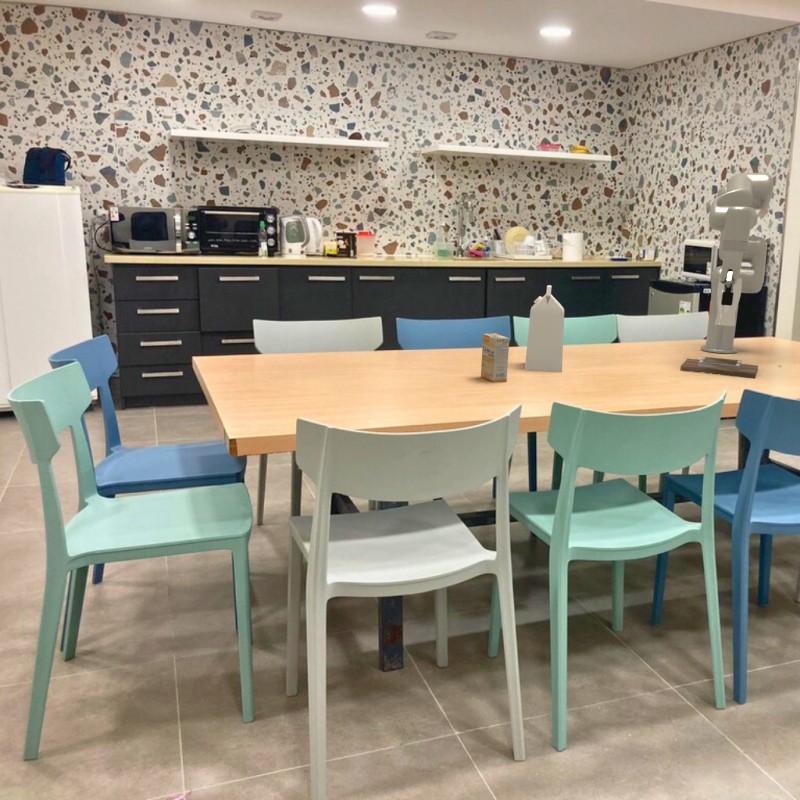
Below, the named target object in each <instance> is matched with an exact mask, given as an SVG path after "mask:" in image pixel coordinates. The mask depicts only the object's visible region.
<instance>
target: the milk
mask: <svg viewBox="0 0 800 800" xmlns="http://www.w3.org/2000/svg"><path fill="white" fill-rule="evenodd" d="M533 303H534V304H533V305H532V306H531V308H530V311H529V312H530V313H529V322H528V334H527V341H526V342H527V343H526V352H525V354H526V355H525V365H524V370H525V371H539V372H551V373H552V372H554V373H563V356H564V355H563V354H564V353H563V351H564V330H565V329H564V328H565V327H564V326H565V308H564V307H563V306H562V304H561V303H560V302H559V301H558V300H557V299H556V298H555V297H554V296H553V295H552V285H550V284H549V285H547V286H546V293H545V294H544V295H543V296H540V295H539V296H538V297H537V298H536V299H535V300H534V301H533Z"/></svg>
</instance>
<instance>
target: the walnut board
mask: <svg viewBox="0 0 800 800" xmlns="http://www.w3.org/2000/svg"><path fill="white" fill-rule="evenodd" d="M742 362H743V361H742V360H741V359H731V358H721V357H712V356H711V357H709V356H702V357H701V358H700V359H698V358H697V359H695V358H686V359H685V360H684V361H683V362H682V364H681V365H680V368H679V369H680V371H681V370H683V371H682V372H690V371H693V372H692V373H700V372H705V373H704V374H709V373H712V374H711V375H718V374H720V375H721V376H728V375H729V377H737V376H738V377H739V378H748V379H755V378H756V376H757V372H758V370H759V365H756V364H746V363H745V364H743V363H742ZM738 377H737V378H738Z"/></svg>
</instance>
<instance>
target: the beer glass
mask: <svg viewBox="0 0 800 800" xmlns="http://www.w3.org/2000/svg"><path fill="white" fill-rule="evenodd" d="M720 278H721V277H720ZM726 281H727V279H726ZM731 282H733V280H731ZM724 283H725V280H724V281H722V283H720V279H719V284H718V290H717V306H718V313H717V318H716V321H715V324H716V325H722V326H735V313H736V309H737V306H738V307H739V302H740V300H741V299H740V298H741V294H742V293H741V288H742V278H738V280H737V283H736V284H734V288H733V293H734V294H733V302H732V305H731V306H729V305H721V301H722V293H723V290H724ZM731 288H732V287H731Z"/></svg>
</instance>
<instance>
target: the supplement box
mask: <svg viewBox="0 0 800 800" xmlns="http://www.w3.org/2000/svg"><path fill="white" fill-rule="evenodd" d="M509 345H510V337H507V336H504V335H501V334H498V333H496V332H495V333H483V334H482V346H481V348H482V351H481V366H480V377H481V378H484V379H485V380H488V381H491V382H492V383H503V382H505V383H506V382H507V379H508V368H509V367H508V364H509V350H510V346H509Z"/></svg>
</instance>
